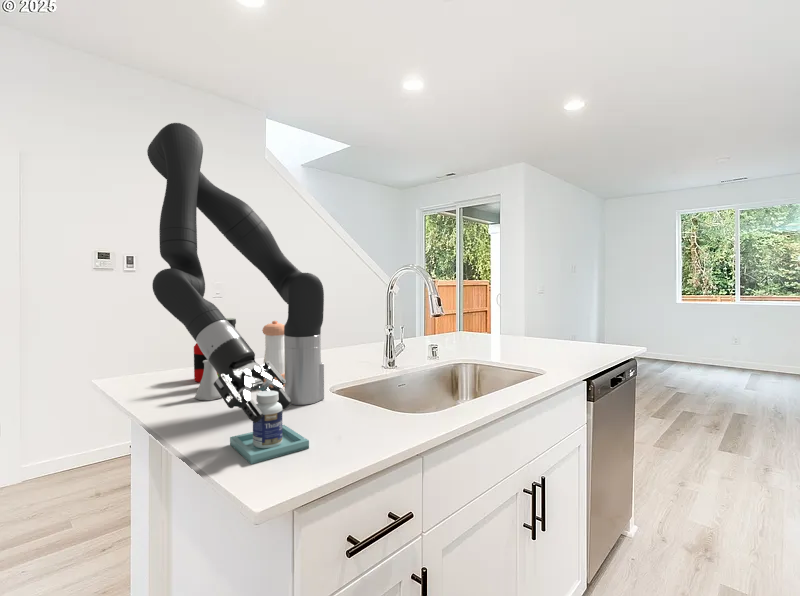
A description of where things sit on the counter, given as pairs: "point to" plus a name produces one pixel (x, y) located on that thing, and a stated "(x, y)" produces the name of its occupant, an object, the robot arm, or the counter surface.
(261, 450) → the tray
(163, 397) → the counter surface
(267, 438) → the pill bottle
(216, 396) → the flask
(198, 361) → the soda can
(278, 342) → the salt shaker
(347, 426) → the counter surface
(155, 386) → the counter surface
